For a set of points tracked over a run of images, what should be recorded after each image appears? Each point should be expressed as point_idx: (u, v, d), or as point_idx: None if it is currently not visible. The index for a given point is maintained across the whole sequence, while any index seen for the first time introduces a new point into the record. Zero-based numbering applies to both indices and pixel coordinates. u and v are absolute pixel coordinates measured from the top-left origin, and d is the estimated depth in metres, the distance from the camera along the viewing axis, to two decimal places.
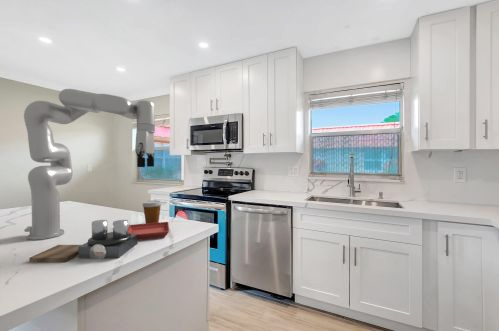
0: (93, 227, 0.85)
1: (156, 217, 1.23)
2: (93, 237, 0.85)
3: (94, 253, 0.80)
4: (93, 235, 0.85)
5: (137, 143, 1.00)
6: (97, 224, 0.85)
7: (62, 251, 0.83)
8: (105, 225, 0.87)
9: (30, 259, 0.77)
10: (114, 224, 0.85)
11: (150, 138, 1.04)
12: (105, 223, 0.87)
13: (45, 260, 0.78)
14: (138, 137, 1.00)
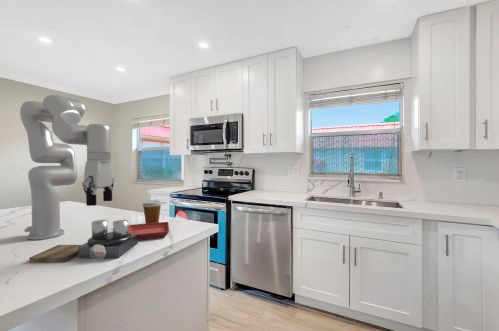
0: (93, 227, 0.85)
1: (156, 217, 1.23)
2: (93, 237, 0.85)
3: (94, 253, 0.80)
4: (93, 235, 0.85)
5: (86, 176, 0.82)
6: (97, 224, 0.85)
7: (62, 251, 0.83)
8: (105, 225, 0.87)
9: (30, 259, 0.77)
10: (114, 224, 0.85)
11: (104, 169, 0.86)
12: (105, 223, 0.87)
13: (45, 260, 0.78)
14: (87, 169, 0.82)
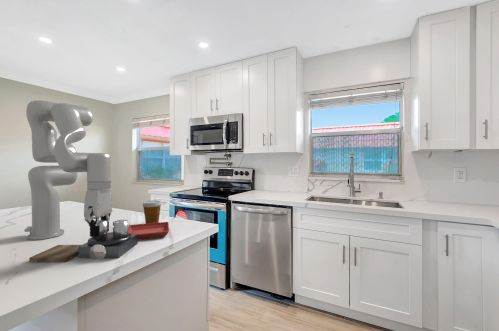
0: None
1: (156, 217, 1.23)
2: (93, 237, 0.85)
3: (94, 253, 0.80)
4: None
5: (86, 206, 0.82)
6: None
7: (62, 251, 0.83)
8: (105, 225, 0.87)
9: (30, 259, 0.77)
10: (114, 224, 0.85)
11: (104, 197, 0.86)
12: (105, 223, 0.87)
13: (45, 260, 0.78)
14: (87, 199, 0.82)
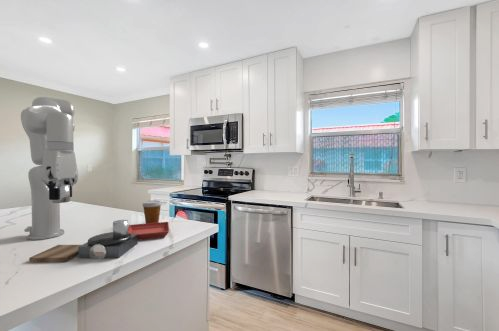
0: None
1: (156, 217, 1.23)
2: (53, 201, 0.81)
3: (94, 253, 0.80)
4: None
5: (44, 167, 0.78)
6: None
7: (62, 251, 0.83)
8: (66, 189, 0.83)
9: (30, 259, 0.77)
10: (114, 224, 0.85)
11: (65, 159, 0.82)
12: (66, 187, 0.83)
13: (45, 260, 0.78)
14: (45, 159, 0.78)
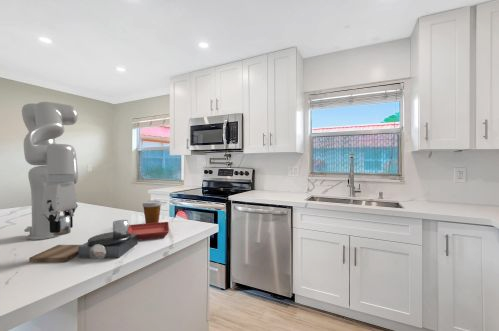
0: None
1: (156, 217, 1.23)
2: (54, 233, 0.81)
3: (94, 253, 0.80)
4: None
5: (44, 201, 0.78)
6: None
7: (62, 251, 0.83)
8: (67, 220, 0.83)
9: (30, 259, 0.77)
10: (114, 224, 0.85)
11: (65, 191, 0.82)
12: (67, 218, 0.83)
13: (45, 260, 0.78)
14: (46, 193, 0.78)
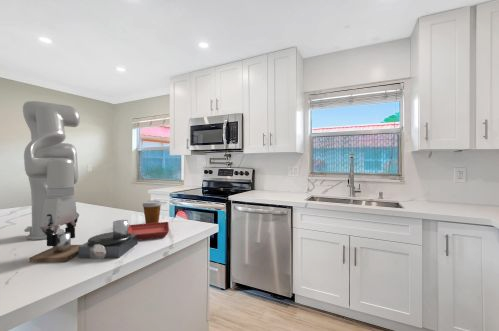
0: None
1: (156, 217, 1.23)
2: (54, 251, 0.81)
3: (94, 253, 0.80)
4: (54, 249, 0.81)
5: (45, 215, 0.78)
6: (58, 236, 0.81)
7: None
8: (67, 238, 0.83)
9: (30, 259, 0.77)
10: (114, 224, 0.85)
11: (65, 205, 0.82)
12: (67, 236, 0.83)
13: (45, 260, 0.78)
14: (46, 207, 0.78)
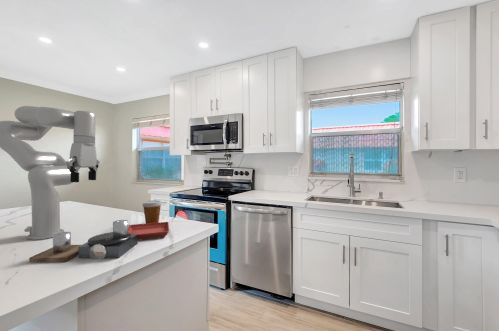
0: (54, 240, 0.81)
1: (156, 217, 1.23)
2: (54, 250, 0.81)
3: (94, 253, 0.80)
4: (54, 248, 0.81)
5: (71, 156, 0.94)
6: (58, 237, 0.81)
7: None
8: (67, 238, 0.83)
9: (30, 259, 0.77)
10: (114, 224, 0.85)
11: (88, 151, 0.97)
12: (67, 236, 0.83)
13: (45, 260, 0.78)
14: (72, 150, 0.94)
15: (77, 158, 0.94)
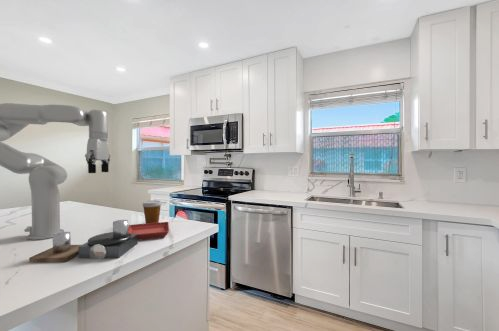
0: (53, 240, 0.81)
1: (156, 217, 1.23)
2: (54, 250, 0.81)
3: (94, 253, 0.80)
4: (53, 248, 0.81)
5: (88, 150, 1.06)
6: (57, 236, 0.81)
7: None
8: (67, 237, 0.83)
9: (30, 259, 0.77)
10: (114, 224, 0.85)
11: (102, 145, 1.10)
12: (67, 235, 0.83)
13: (45, 260, 0.78)
14: (89, 145, 1.06)
15: (94, 152, 1.06)
